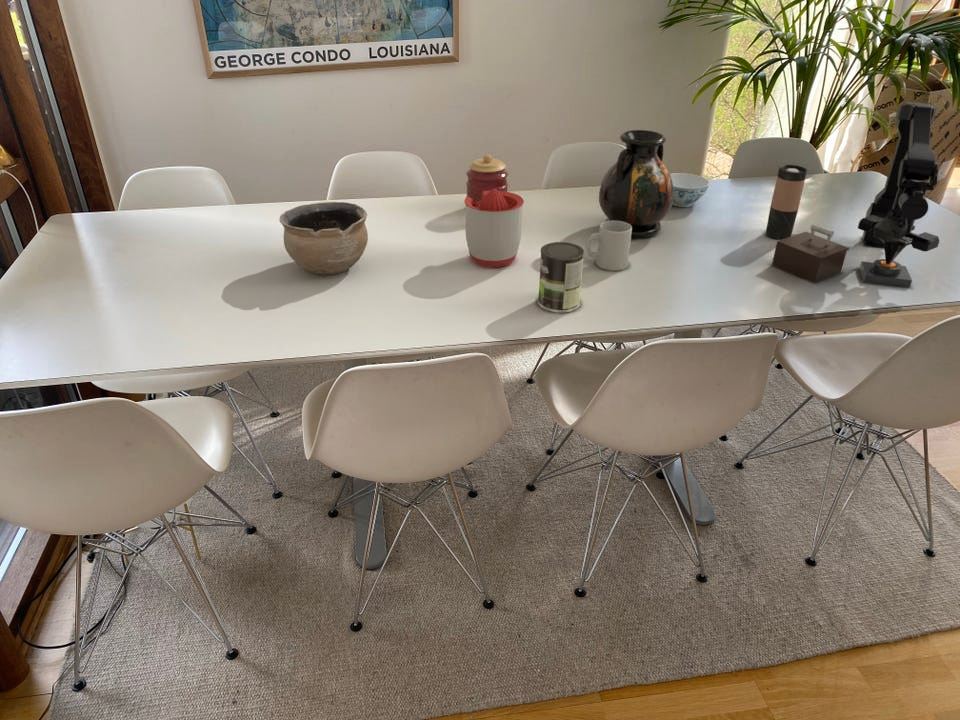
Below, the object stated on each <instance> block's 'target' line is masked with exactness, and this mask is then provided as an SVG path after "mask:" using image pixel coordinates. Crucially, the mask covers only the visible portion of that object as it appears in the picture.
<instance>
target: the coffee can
mask: <svg viewBox="0 0 960 720" xmlns="http://www.w3.org/2000/svg"><path fill="white" fill-rule="evenodd" d="M584 256H585V249H584V248H583V247H582V246H581V245H578V244H576V243H572V242H567V241H555V242H549V243H546V244H544V245H542V246H541V248H540V267H539V285H538V298H537V304H538V306H539V307H540V308H541V309H543V310H544V311H547V312H552V313H556V314H565V313H571V312H573V311H575V310H577V309H578V308H579V307H580V305H581V303H580V298H581V289H582V287H581V286H582V276H583V266H584V265H583V264H584Z"/></svg>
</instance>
